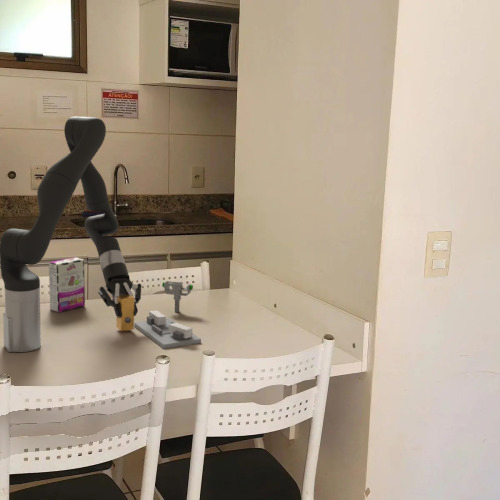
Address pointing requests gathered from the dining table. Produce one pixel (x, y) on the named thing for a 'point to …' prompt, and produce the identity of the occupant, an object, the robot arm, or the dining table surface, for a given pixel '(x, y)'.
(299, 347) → the dining table surface
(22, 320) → the robot arm
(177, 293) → the mechanical component
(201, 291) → the dining table surface
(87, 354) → the dining table surface
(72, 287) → the candy bar box
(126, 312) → the block
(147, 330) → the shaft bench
